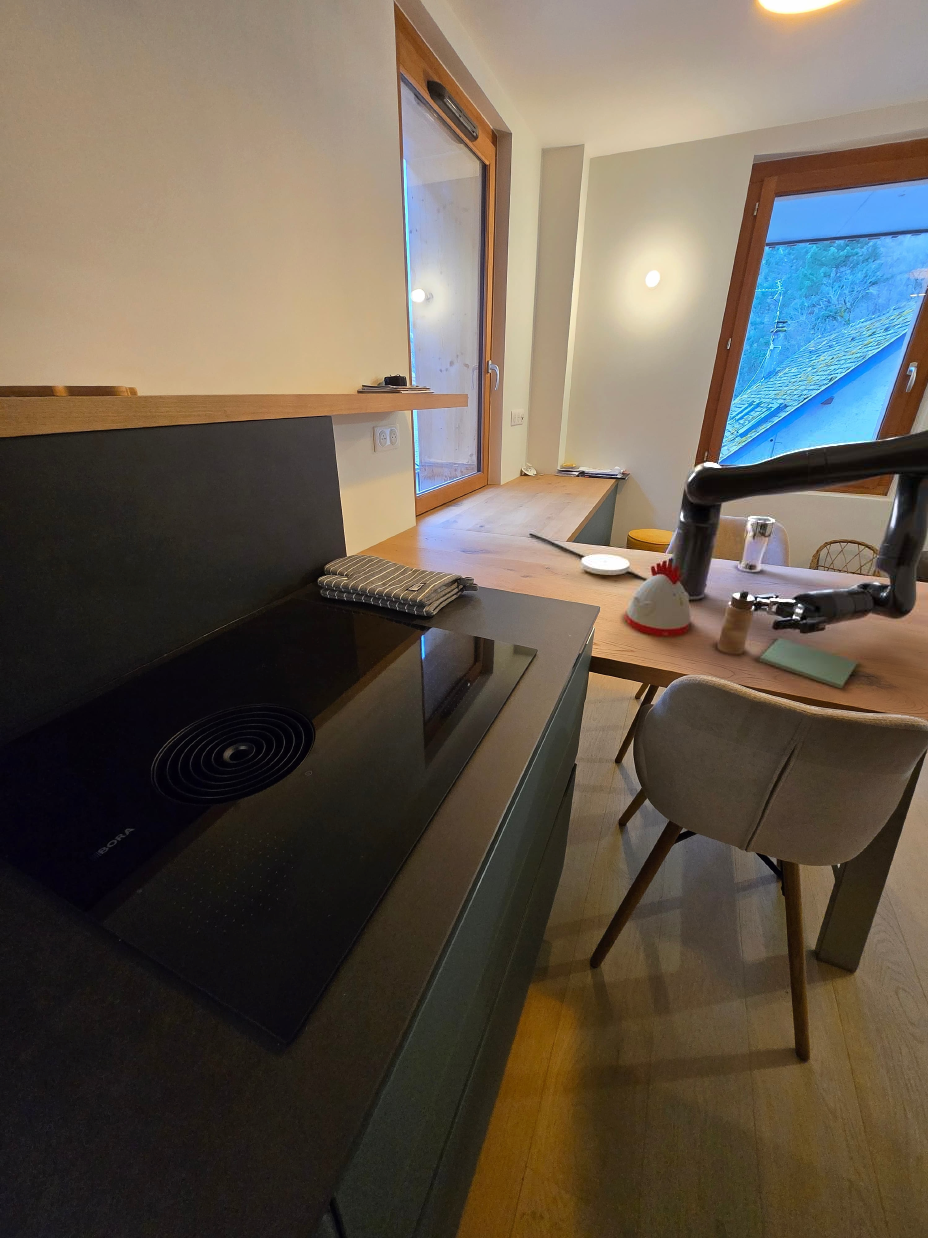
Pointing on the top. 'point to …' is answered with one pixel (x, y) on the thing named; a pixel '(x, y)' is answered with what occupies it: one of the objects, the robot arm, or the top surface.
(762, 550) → the beer glass
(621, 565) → the plastic lid
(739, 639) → the pepper mill
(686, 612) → the kitchen timer
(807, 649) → the rubber mat
